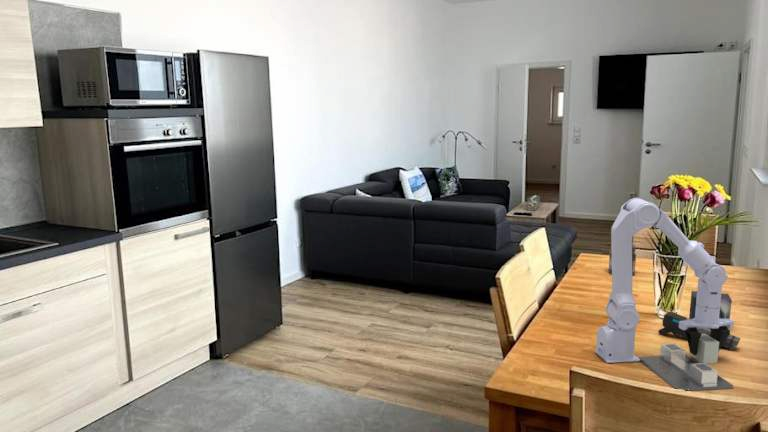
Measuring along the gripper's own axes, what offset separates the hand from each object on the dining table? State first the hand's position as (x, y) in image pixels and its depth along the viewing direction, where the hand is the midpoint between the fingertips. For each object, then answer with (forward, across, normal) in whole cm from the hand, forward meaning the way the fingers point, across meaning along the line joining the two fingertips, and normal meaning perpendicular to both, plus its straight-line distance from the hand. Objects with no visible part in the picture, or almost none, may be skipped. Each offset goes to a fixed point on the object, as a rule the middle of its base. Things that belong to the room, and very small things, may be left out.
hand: (703, 353), depth 162 cm
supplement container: (+2, +21, +86) cm, 89 cm away
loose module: (+2, 0, 0) cm, 2 cm away
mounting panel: (+2, -11, -8) cm, 14 cm away
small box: (+2, +17, +23) cm, 29 cm away
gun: (+2, +6, +12) cm, 14 cm away
